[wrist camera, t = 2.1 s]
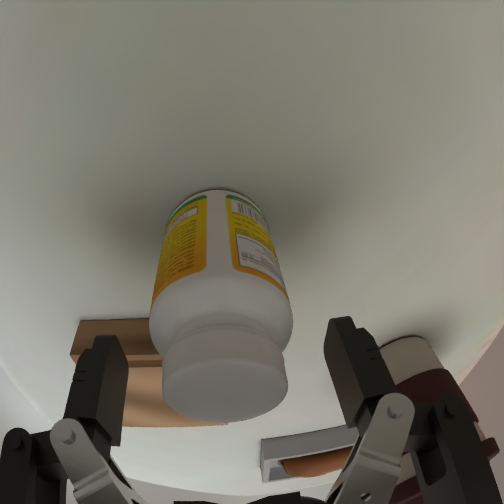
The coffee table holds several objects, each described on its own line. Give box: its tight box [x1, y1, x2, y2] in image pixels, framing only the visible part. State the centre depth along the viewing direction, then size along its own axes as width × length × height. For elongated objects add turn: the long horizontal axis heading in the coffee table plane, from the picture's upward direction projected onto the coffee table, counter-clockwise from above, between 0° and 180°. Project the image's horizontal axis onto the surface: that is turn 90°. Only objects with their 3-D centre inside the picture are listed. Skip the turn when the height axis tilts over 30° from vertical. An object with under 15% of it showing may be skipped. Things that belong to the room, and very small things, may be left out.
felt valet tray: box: [260, 425, 359, 483], centre depth 38 cm, size 13×23×3 cm, turn 91°
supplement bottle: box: [149, 190, 293, 423], centre depth 13 cm, size 5×5×10 cm
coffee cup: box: [379, 337, 500, 504], centre depth 21 cm, size 10×10×15 cm
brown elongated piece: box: [278, 445, 354, 477], centre depth 37 cm, size 18×7×7 cm
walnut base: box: [70, 318, 228, 427], centre depth 22 cm, size 10×10×4 cm
